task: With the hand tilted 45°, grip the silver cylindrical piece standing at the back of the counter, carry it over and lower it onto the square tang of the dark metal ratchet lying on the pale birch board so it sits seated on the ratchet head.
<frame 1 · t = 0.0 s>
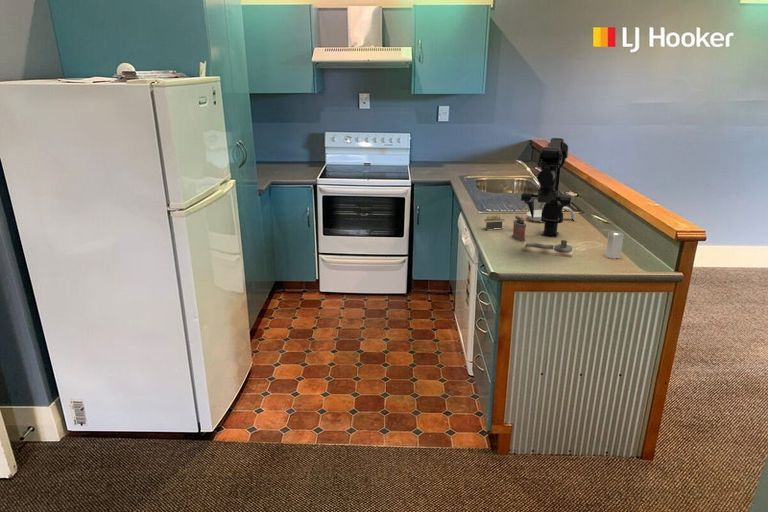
hand: (544, 219, 218), 15 cm above the worktop, tool pointing down, fingers open, 9 cm apart
spoon rest: (550, 221, 270), on the worktop
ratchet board: (547, 250, 227), on the worktop
silver cylindrical piece: (612, 256, 219), on the worktop
platform: (493, 230, 256), on the worktop
lighter: (518, 239, 242), on the worktop
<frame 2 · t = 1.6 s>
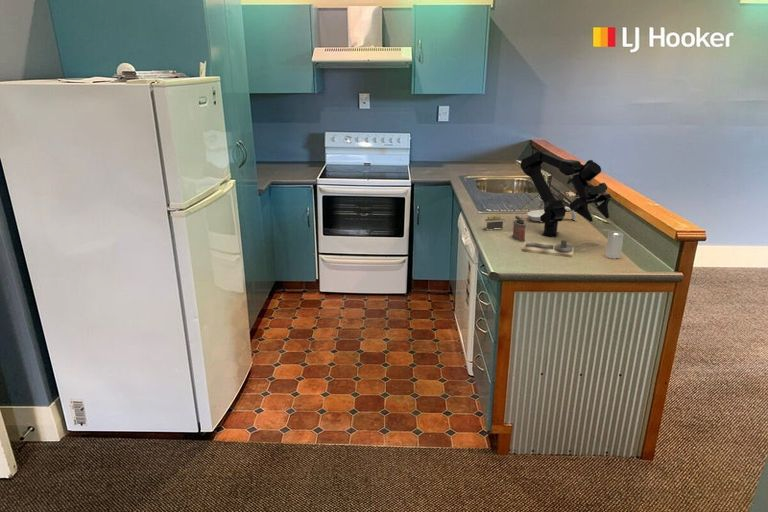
hand: (600, 219, 221), 13 cm above the worktop, tool tilted 45°, fingers open, 9 cm apart
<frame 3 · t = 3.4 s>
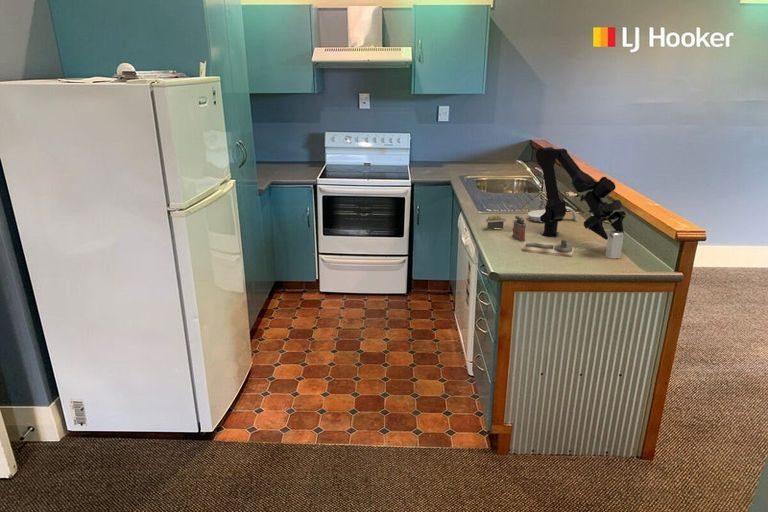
hand: (615, 237, 217), 8 cm above the worktop, tool tilted 45°, fingers open, 9 cm apart
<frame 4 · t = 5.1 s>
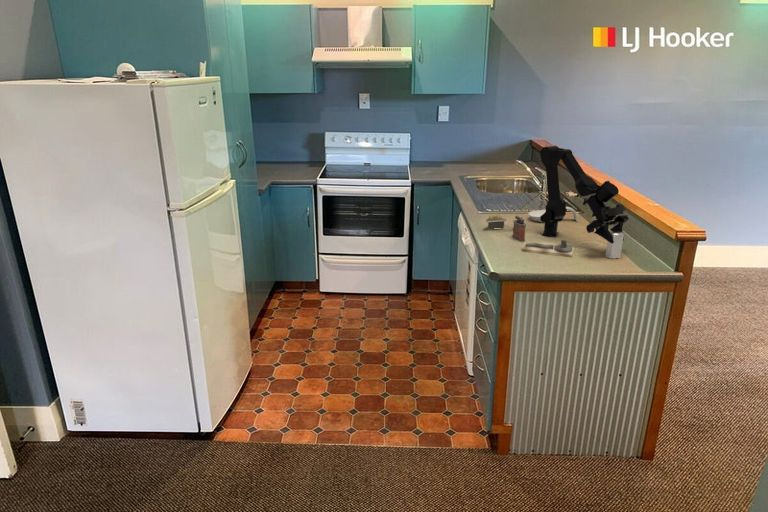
hand: (617, 241, 216), 7 cm above the worktop, tool tilted 45°, fingers closed on silver cylindrical piece, 5 cm apart
silver cylindrical piece: (612, 256, 219), on the worktop, touching gripper
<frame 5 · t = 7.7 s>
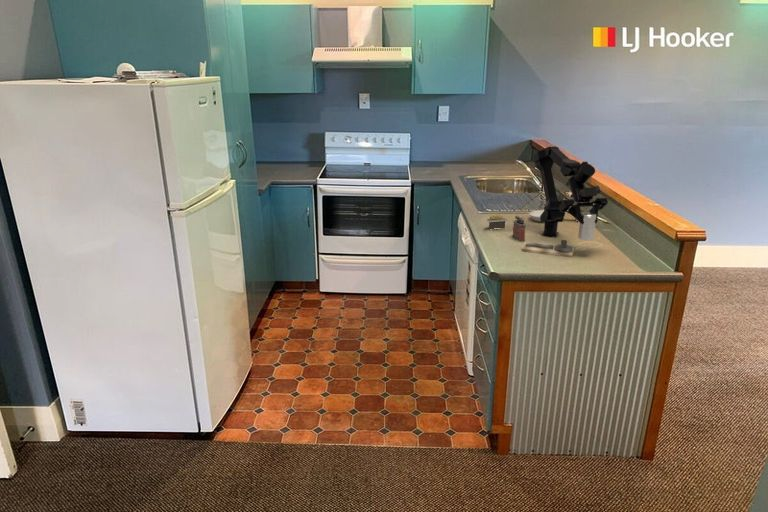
hand: (589, 223, 215), 14 cm above the worktop, tool tilted 45°, fingers closed on silver cylindrical piece, 5 cm apart
silver cylindrical piece: (585, 238, 219), point 7 cm above the worktop, touching gripper
when the fingers open (10 cm above the worktop, at t = 10.6 s): silver cylindrical piece stays where it is, resting on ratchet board.
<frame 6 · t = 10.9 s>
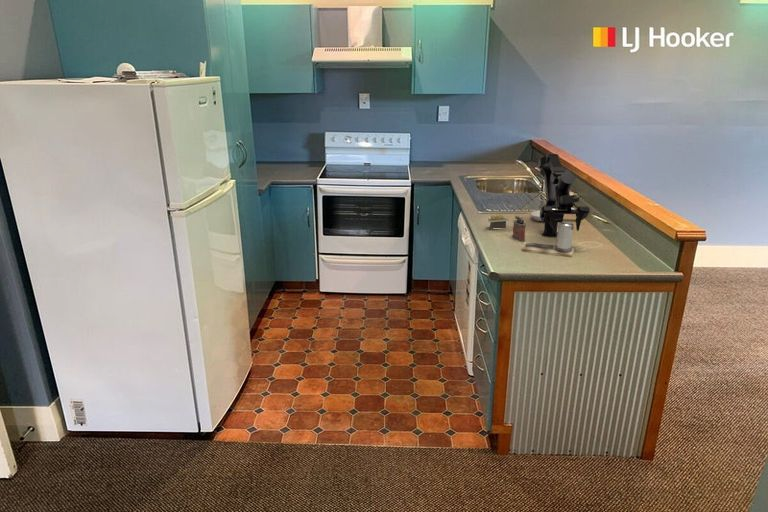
hand: (566, 230, 220), 10 cm above the worktop, tool tilted 45°, fingers open, 9 cm apart
silver cylindrical piece: (563, 247, 224), point 2 cm above the worktop, touching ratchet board
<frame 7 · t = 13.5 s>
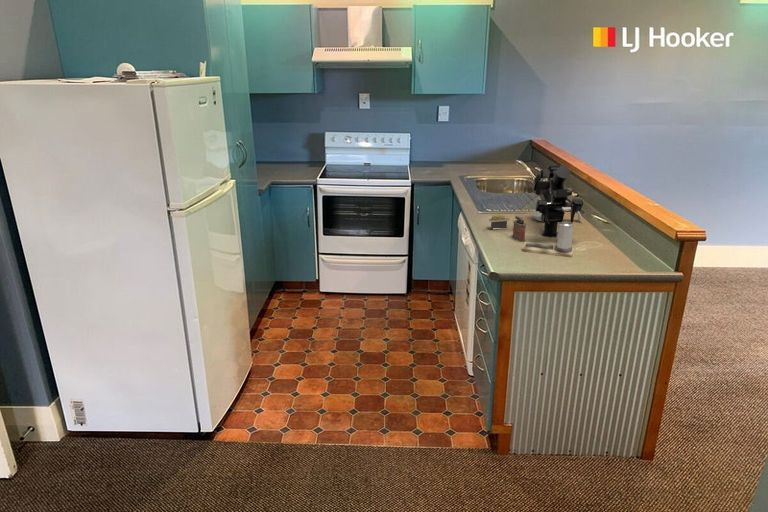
hand: (560, 223, 229), 10 cm above the worktop, tool tilted 45°, fingers open, 9 cm apart
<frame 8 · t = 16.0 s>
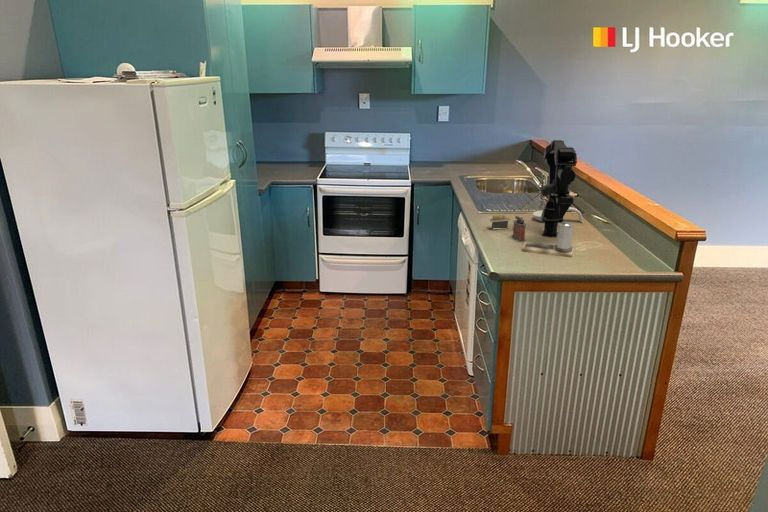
hand: (558, 215, 230), 13 cm above the worktop, tool pointing down, fingers open, 9 cm apart
at the end: silver cylindrical piece 0.1 cm from the target spot on the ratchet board, point 2.2 cm above the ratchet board's base; silver cylindrical piece tilted 0°; the gripper is holding nothing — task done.
